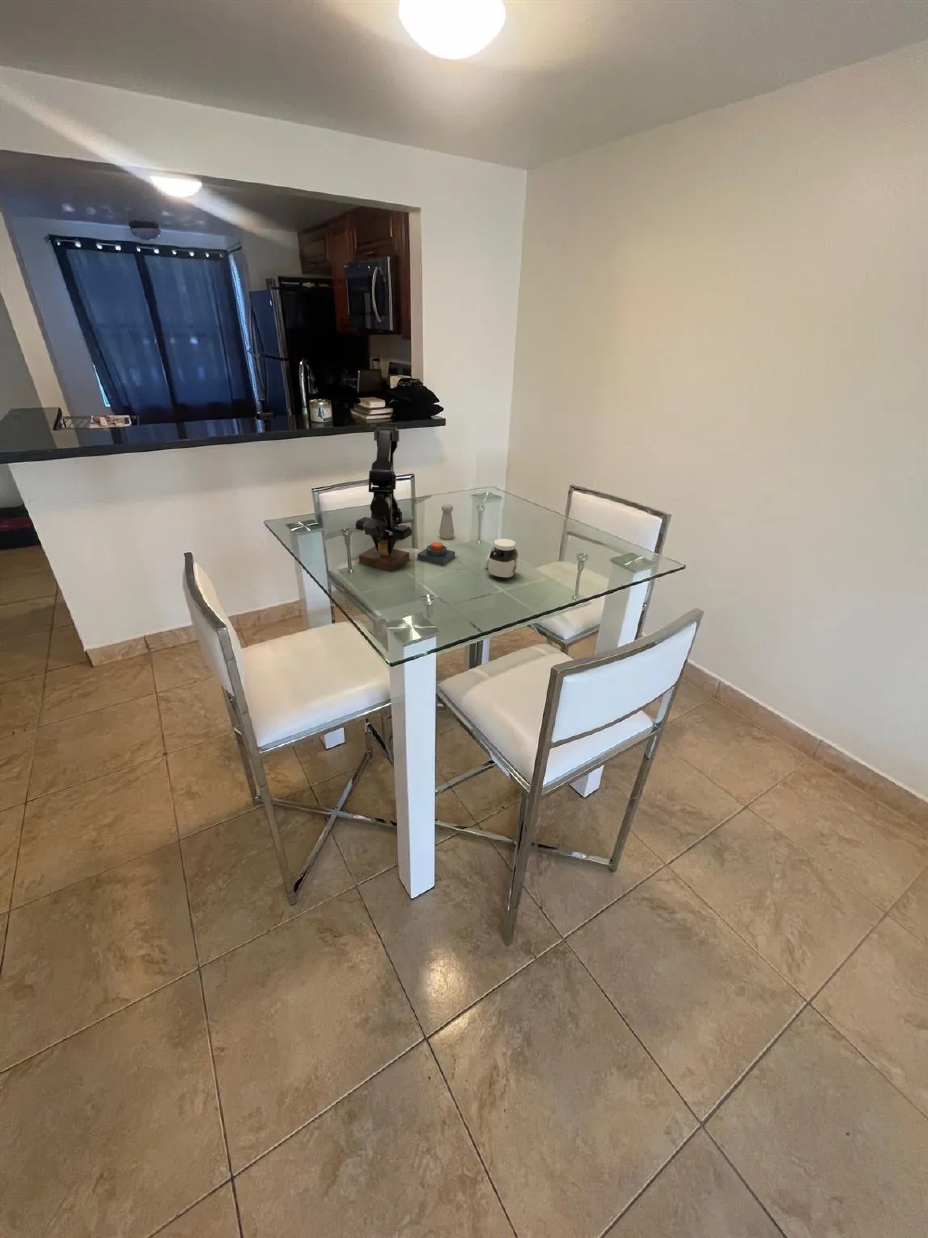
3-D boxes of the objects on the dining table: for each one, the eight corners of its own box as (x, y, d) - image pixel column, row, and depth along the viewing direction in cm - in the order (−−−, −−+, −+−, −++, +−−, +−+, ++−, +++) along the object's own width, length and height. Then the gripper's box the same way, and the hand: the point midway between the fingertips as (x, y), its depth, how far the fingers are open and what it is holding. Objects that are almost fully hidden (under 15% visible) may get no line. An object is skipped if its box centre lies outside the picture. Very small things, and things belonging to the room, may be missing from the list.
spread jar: (505, 584, 162) (508, 549, 157) (474, 575, 167) (476, 541, 162) (521, 571, 171) (525, 539, 166) (492, 563, 176) (495, 531, 171)
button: (428, 549, 175) (428, 544, 174) (434, 545, 178) (434, 541, 178) (438, 551, 174) (439, 547, 173) (444, 548, 177) (444, 543, 176)
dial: (375, 554, 171) (375, 542, 169) (382, 550, 174) (382, 538, 172) (386, 556, 169) (385, 544, 167) (392, 552, 173) (392, 540, 170)
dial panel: (359, 563, 171) (358, 554, 170) (377, 552, 180) (377, 544, 178) (391, 571, 166) (391, 562, 165) (409, 560, 175) (409, 551, 174)
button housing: (417, 559, 176) (417, 549, 174) (430, 551, 183) (430, 541, 181) (442, 566, 172) (443, 555, 171) (454, 557, 180) (455, 546, 178)
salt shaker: (451, 541, 193) (453, 507, 187) (437, 539, 194) (438, 506, 188) (455, 536, 198) (456, 503, 192) (440, 534, 199) (441, 501, 193)
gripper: (343, 508, 161) (346, 554, 168) (393, 519, 154) (394, 566, 162) (364, 499, 170) (366, 543, 177) (412, 509, 163) (412, 555, 171)
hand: (384, 552), depth 171 cm, fingers closed on dial, 4 cm apart
